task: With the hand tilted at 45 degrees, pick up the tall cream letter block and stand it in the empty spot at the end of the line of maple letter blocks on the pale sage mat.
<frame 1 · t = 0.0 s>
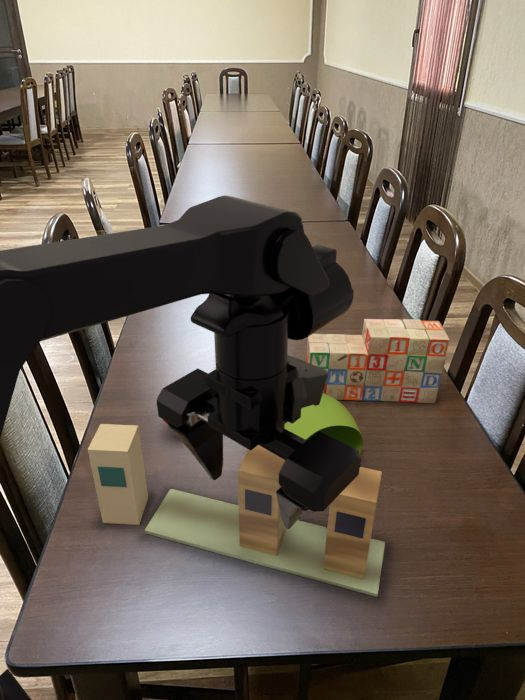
hand: (251, 500, 51), 14 cm above the table, tool pointing down, fingers open, 9 cm apart
stack of blocks: (368, 391, 91), on the table
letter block: (126, 509, 68), on the table
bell: (312, 455, 78), on the table
block line: (187, 519, 67), on the table
strawberry: (186, 435, 81), on the table
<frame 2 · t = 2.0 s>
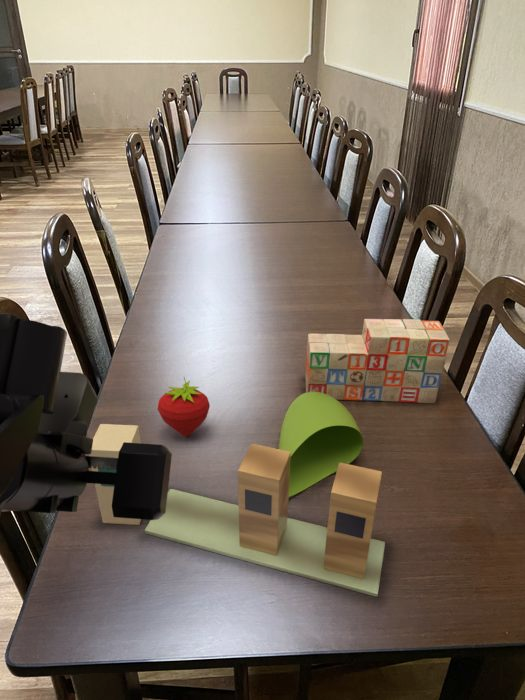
hand: (93, 478, 54), 13 cm above the table, tool tilted 45°, fingers open, 9 cm apart
nothing on the table moved.
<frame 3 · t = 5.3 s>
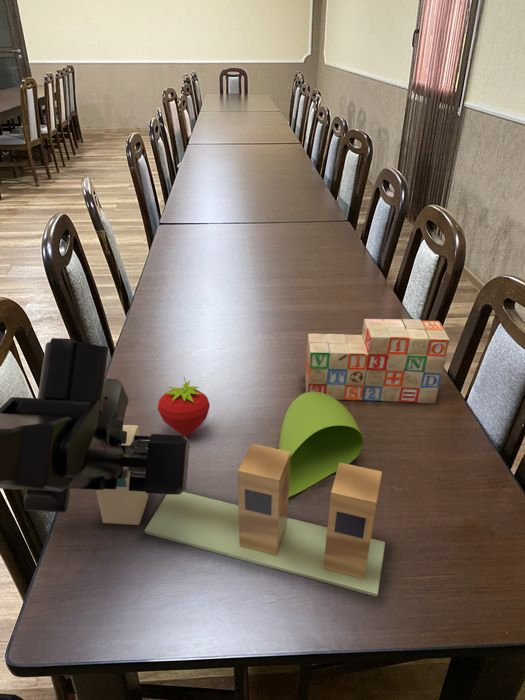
hand: (123, 463, 66), 7 cm above the table, tool tilted 45°, fingers closed on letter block, 4 cm apart
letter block: (126, 509, 68), on the table, touching gripper
everything else where it was.
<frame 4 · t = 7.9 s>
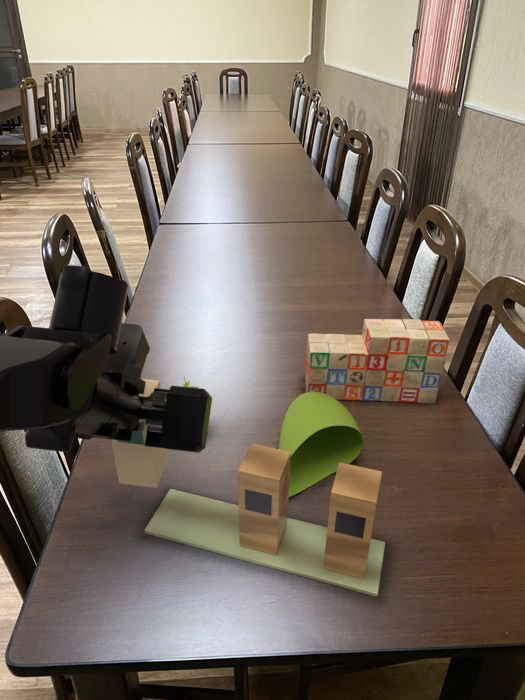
hand: (142, 421, 62), 13 cm above the table, tool tilted 45°, fingers closed on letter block, 4 cm apart
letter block: (144, 472, 64), point 7 cm above the table, touching gripper
everything else where it was.
when the fingers open (7 cm above the table, at t = 10.9 s): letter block stays where it is, resting on block line.
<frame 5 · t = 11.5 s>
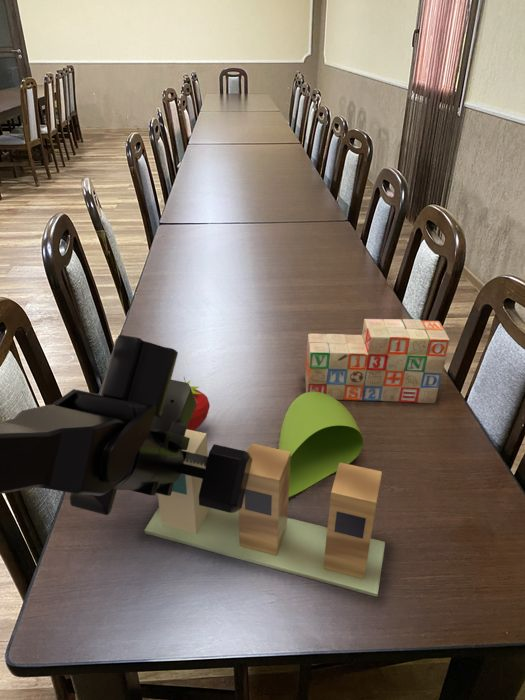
hand: (187, 467, 64), 7 cm above the table, tool tilted 45°, fingers open, 9 cm apart
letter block: (186, 515, 67), point 1 cm above the table, touching block line
everything else where it was.
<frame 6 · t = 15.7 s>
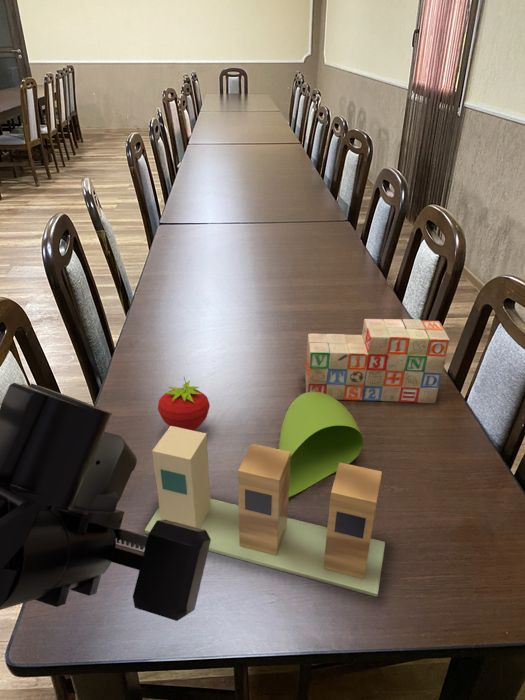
hand: (133, 536, 49), 13 cm above the table, tool tilted 45°, fingers open, 9 cm apart
nothing on the table moved.
at the end: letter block 0.0 cm from the target spot, point 0.6 cm above the table; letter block tilted 0°; the gripper is holding nothing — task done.
